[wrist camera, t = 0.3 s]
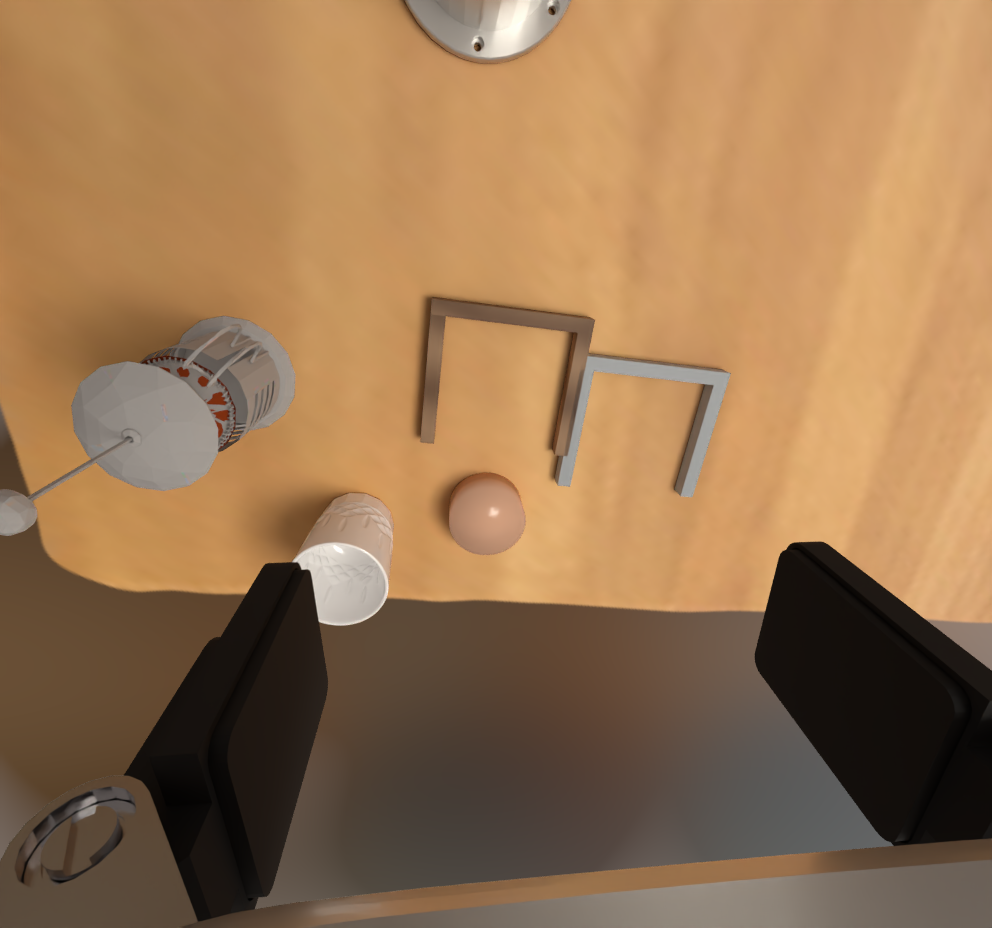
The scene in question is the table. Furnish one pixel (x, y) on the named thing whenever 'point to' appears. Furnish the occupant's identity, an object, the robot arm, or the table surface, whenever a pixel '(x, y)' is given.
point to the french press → (173, 410)
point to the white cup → (349, 558)
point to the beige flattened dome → (486, 514)
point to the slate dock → (660, 370)
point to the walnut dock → (515, 317)
